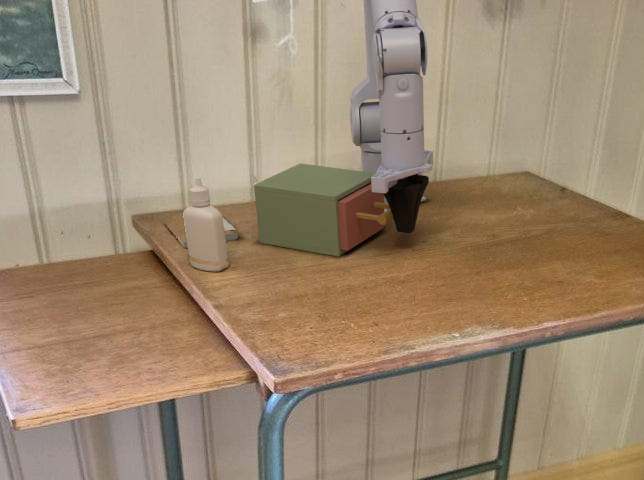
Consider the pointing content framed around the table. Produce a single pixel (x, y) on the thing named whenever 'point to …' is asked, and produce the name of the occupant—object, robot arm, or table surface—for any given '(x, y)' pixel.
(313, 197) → the cabinet
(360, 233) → the drawer
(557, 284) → the table surface
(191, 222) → the eye dropper bottle
